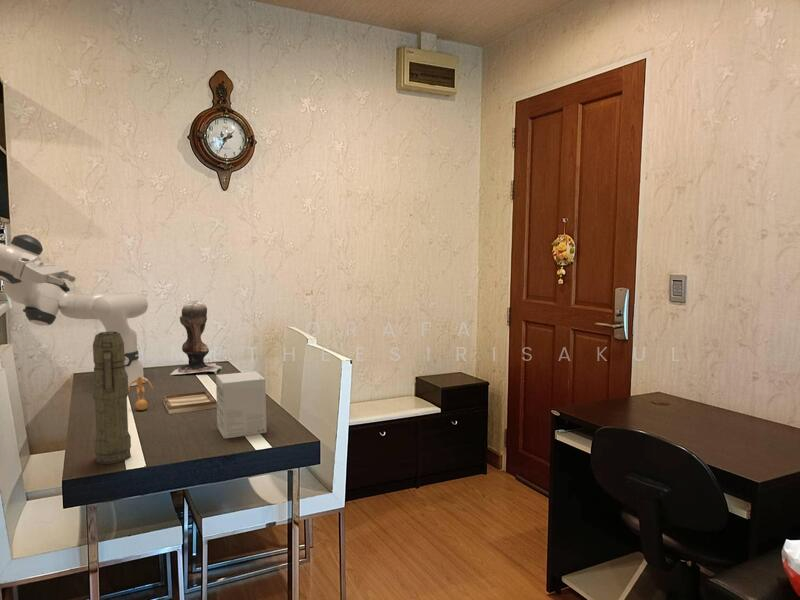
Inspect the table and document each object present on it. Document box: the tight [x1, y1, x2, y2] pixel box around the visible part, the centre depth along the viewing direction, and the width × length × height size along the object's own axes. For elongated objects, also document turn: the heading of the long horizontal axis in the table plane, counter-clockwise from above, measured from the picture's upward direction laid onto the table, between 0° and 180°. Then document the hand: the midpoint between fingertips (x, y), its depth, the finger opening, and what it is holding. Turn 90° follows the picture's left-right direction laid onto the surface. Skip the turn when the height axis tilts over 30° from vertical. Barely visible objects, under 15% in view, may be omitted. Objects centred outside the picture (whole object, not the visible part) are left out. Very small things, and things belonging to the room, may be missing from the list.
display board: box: [162, 390, 217, 415], centre depth 211 cm, size 18×16×2 cm
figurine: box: [128, 377, 154, 411], centre depth 205 cm, size 8×6×12 cm
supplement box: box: [215, 370, 268, 439], centre depth 181 cm, size 13×13×18 cm
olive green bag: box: [91, 331, 132, 465], centre depth 156 cm, size 9×12×35 cm
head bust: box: [169, 300, 223, 376], centre depth 271 cm, size 22×25×35 cm
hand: (69, 281), depth 202 cm, fingers open, 8 cm apart
